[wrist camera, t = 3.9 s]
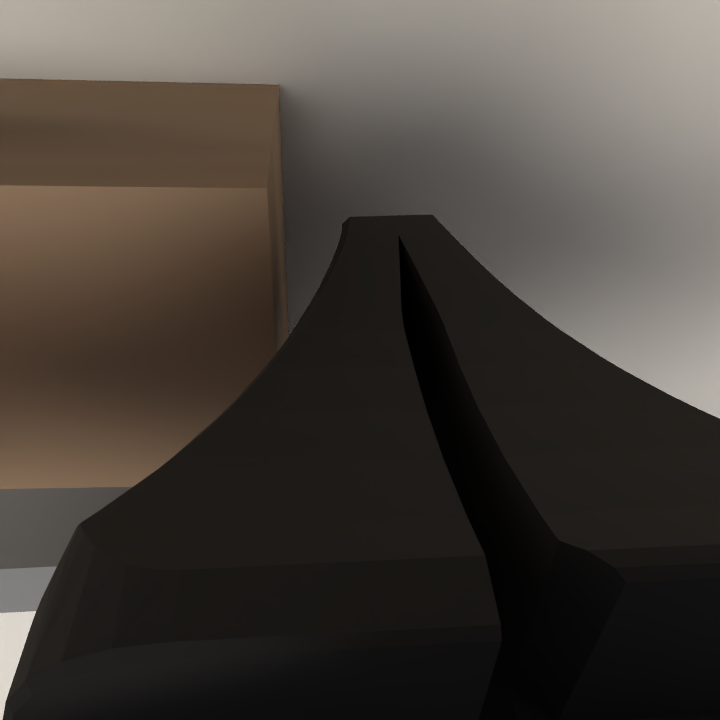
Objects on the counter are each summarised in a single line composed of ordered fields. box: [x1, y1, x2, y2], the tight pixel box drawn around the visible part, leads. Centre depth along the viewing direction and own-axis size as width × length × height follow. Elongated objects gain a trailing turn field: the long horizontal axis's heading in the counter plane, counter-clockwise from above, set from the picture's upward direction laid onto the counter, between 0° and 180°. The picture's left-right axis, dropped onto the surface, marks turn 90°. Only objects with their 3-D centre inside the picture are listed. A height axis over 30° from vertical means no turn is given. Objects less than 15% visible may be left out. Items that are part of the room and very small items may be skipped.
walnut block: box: [0, 79, 289, 489], centre depth 10 cm, size 5×5×4 cm
